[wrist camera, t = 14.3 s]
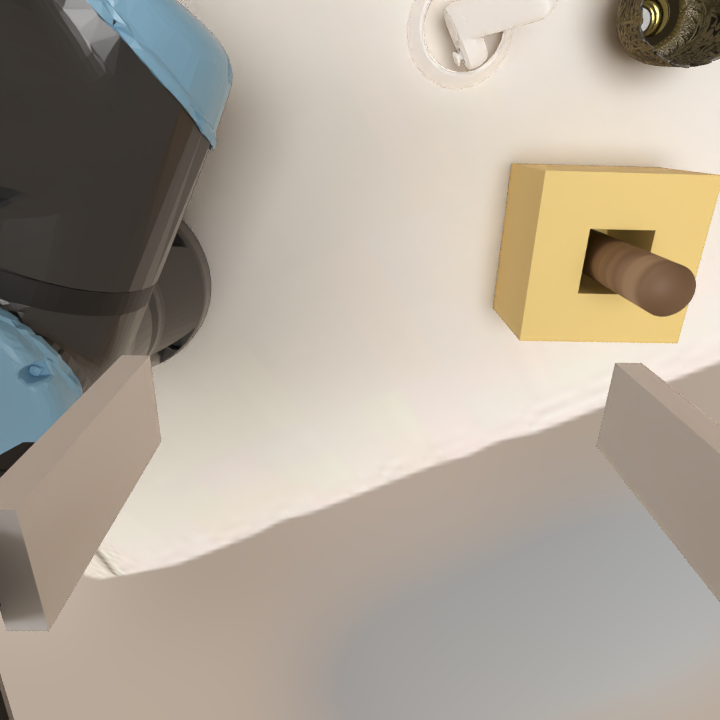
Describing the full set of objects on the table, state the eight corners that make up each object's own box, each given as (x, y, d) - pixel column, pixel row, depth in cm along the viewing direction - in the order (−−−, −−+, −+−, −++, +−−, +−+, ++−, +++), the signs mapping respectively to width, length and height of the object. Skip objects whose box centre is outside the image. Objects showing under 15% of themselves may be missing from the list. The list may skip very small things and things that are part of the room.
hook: (621, 23, 35) (566, 80, 33) (478, 65, 44) (426, 112, 42) (594, -112, 31) (528, -58, 29) (442, -35, 40) (383, 11, 38)
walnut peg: (553, 263, 45) (635, 316, 32) (559, 224, 44) (647, 263, 31) (590, 263, 45) (687, 317, 33) (598, 224, 44) (702, 264, 31)
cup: (574, -7, 39) (628, -38, 31) (675, -64, 38) (756, -111, 30) (605, 96, 41) (661, 90, 34) (701, 46, 40) (780, 27, 33)
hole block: (492, 307, 48) (519, 340, 40) (511, 163, 43) (545, 170, 36) (626, 310, 48) (677, 343, 41) (659, 167, 44) (723, 175, 36)
